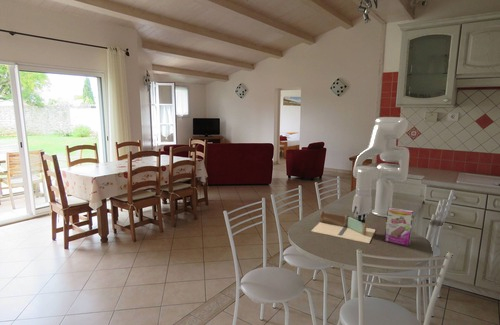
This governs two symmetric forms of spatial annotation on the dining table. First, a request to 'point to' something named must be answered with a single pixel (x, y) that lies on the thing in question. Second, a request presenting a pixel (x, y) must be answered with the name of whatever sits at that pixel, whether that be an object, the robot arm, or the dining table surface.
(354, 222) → the hinged panel
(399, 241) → the candy bar box
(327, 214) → the fence base
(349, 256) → the dining table surface
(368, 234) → the card
